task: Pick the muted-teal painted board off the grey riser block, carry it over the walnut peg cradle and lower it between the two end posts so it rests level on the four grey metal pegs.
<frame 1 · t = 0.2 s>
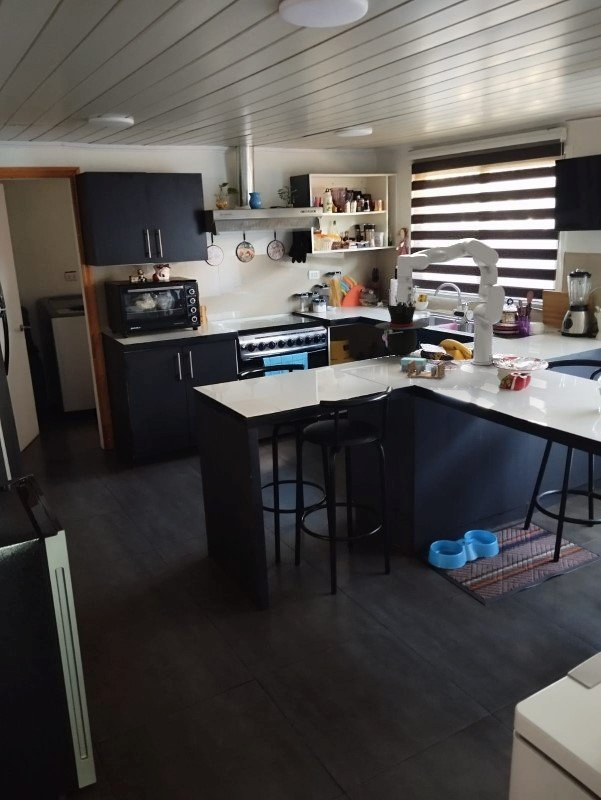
hand: (404, 313, 320), 30 cm above the worktop, tool pointing down, fingers open, 9 cm apart
shelf board: (413, 364, 327), point 3 cm above the worktop, touching riser
riser: (413, 370, 327), on the worktop
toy: (401, 356, 365), on the worktop
peg cradle: (426, 376, 314), on the worktop
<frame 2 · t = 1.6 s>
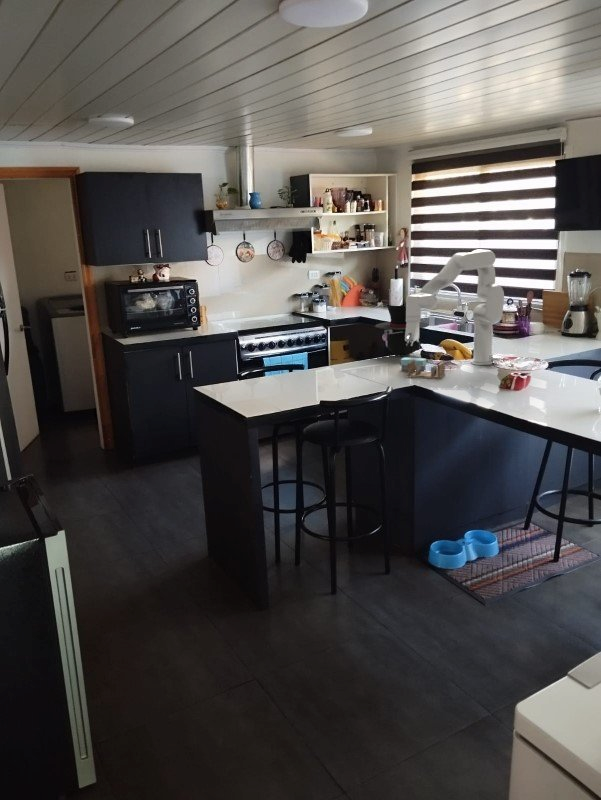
hand: (412, 351, 325), 10 cm above the worktop, tool pointing down, fingers open, 9 cm apart
nothing on the worktop moved.
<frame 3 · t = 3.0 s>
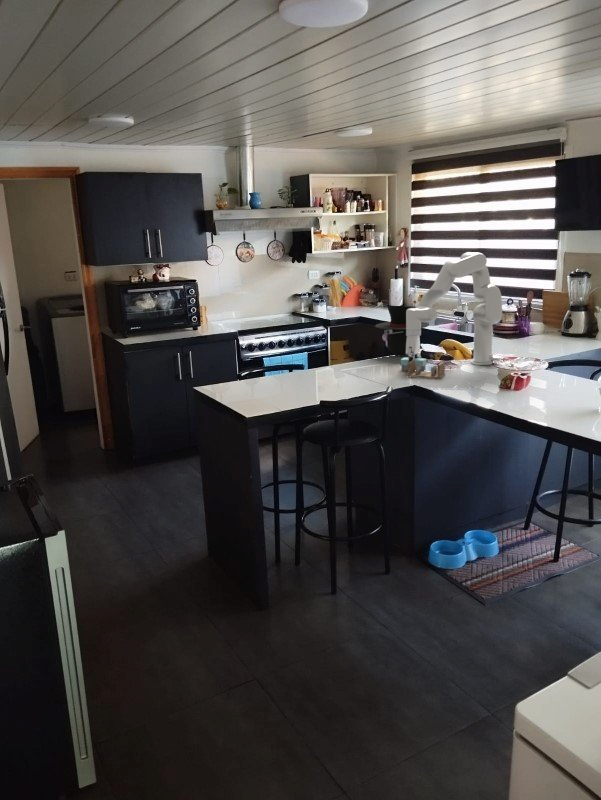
hand: (413, 366, 327), 2 cm above the worktop, tool pointing down, fingers closed on shelf board, 5 cm apart
shelf board: (413, 364, 327), point 3 cm above the worktop, touching gripper, riser
everything else where it was.
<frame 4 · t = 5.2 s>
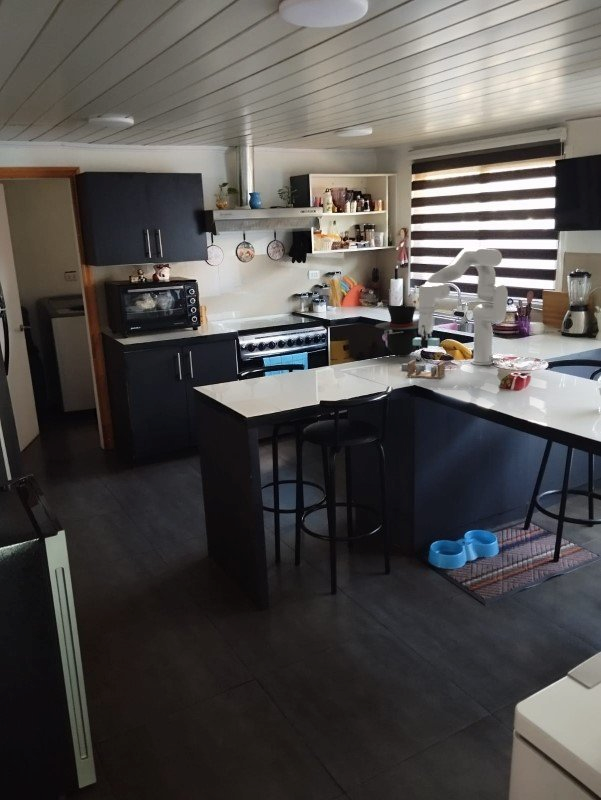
hand: (426, 346, 310), 15 cm above the worktop, tool pointing down, fingers closed on shelf board, 5 cm apart
shelf board: (426, 344, 309), point 16 cm above the worktop, touching gripper
everything else where it was.
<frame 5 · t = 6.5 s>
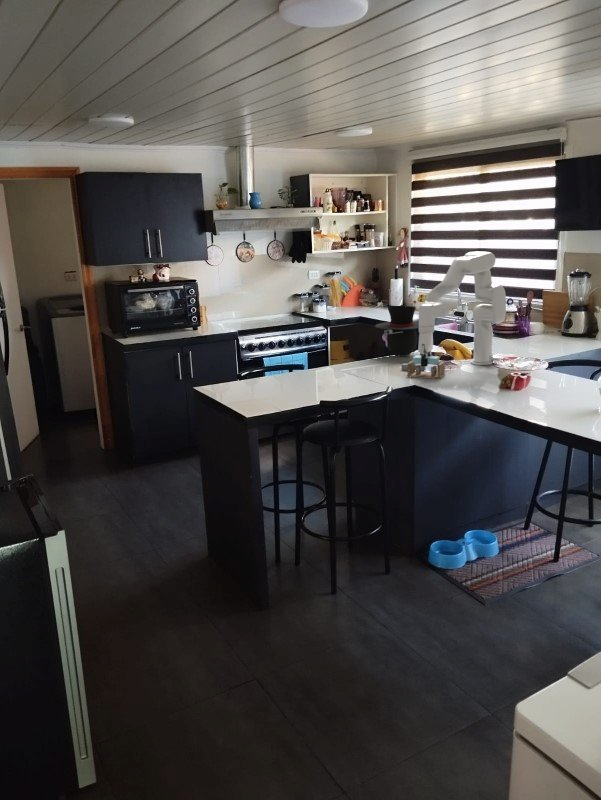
hand: (426, 364, 312), 6 cm above the worktop, tool pointing down, fingers closed on shelf board, 5 cm apart
shelf board: (425, 362, 312), point 7 cm above the worktop, touching gripper
everything else where it was.
when the fingers open (5 cm above the worktop, at t = 7.4 s): shelf board drops 1 cm, resting on peg cradle.
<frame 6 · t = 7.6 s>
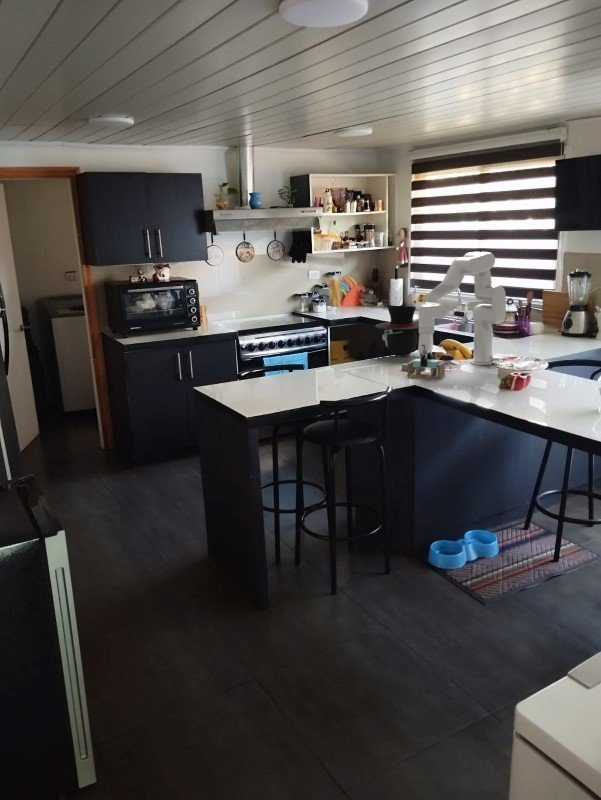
hand: (426, 364, 312), 6 cm above the worktop, tool pointing down, fingers open, 7 cm apart
shelf board: (426, 366, 312), point 5 cm above the worktop, touching peg cradle
everything else where it was.
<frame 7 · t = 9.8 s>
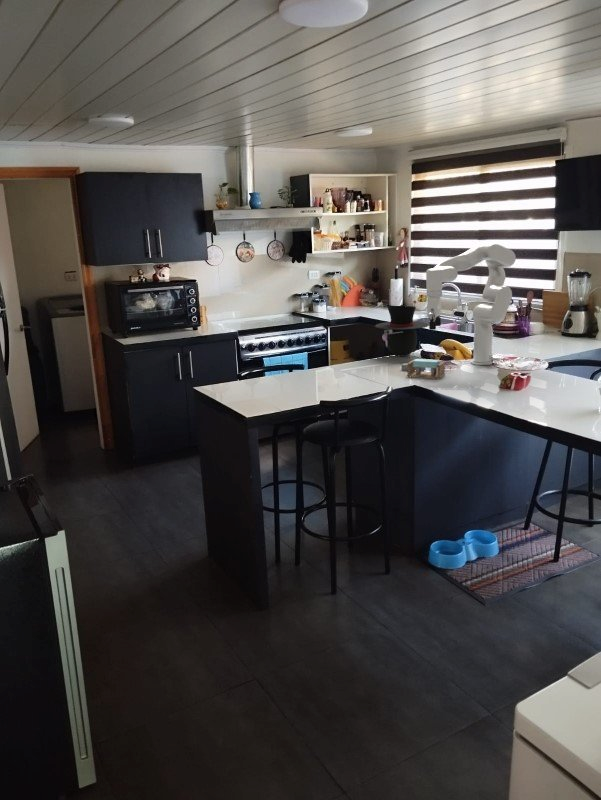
hand: (435, 327, 315), 23 cm above the worktop, tool pointing down, fingers open, 9 cm apart
nothing on the worktop moved.
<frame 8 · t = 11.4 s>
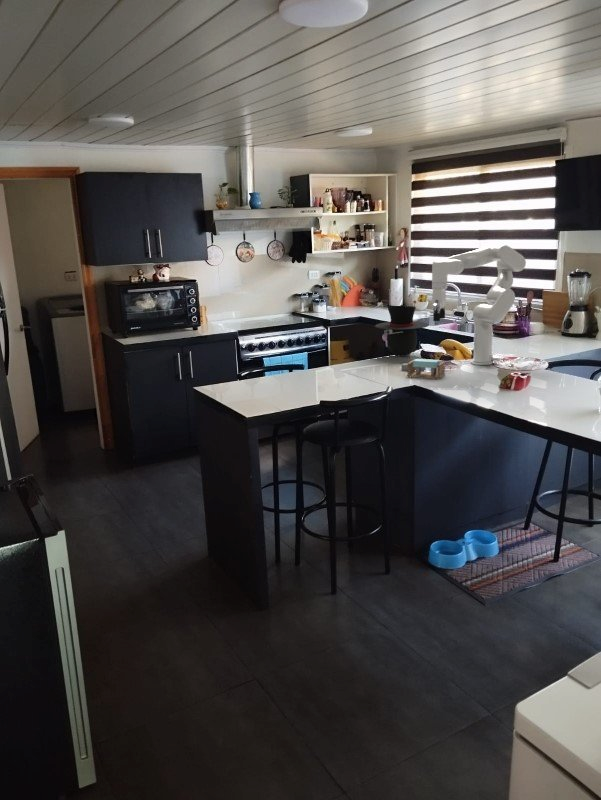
hand: (439, 319, 319), 26 cm above the worktop, tool pointing down, fingers open, 9 cm apart
nothing on the worktop moved.
at the end: shelf board 0.1 cm off-centre on the peg cradle, point 5.0 cm above the peg cradle's base; shelf board tilted 0°; the gripper is holding nothing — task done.
